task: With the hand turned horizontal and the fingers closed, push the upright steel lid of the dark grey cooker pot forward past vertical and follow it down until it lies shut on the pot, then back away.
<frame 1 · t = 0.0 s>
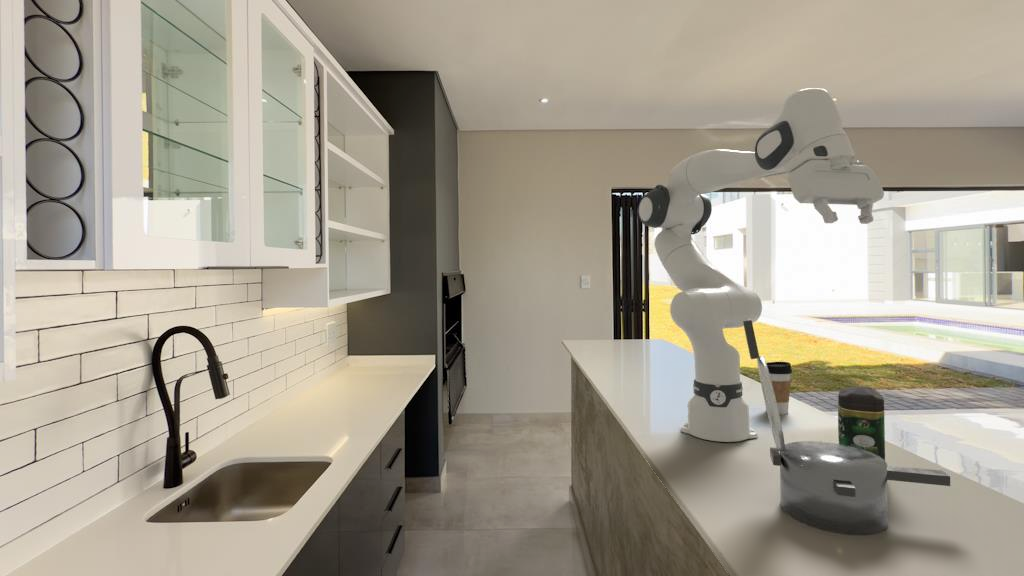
hand: (849, 222, 98), 52 cm above the countertop, tool tilted 20°, fingers open, 8 cm apart
coffee cup: (777, 412, 155), on the countertop
lid: (762, 384, 93), point 22 cm above the countertop, hinge at 100.0°
pot: (831, 511, 90), on the countertop
coffee jar: (861, 478, 104), on the countertop
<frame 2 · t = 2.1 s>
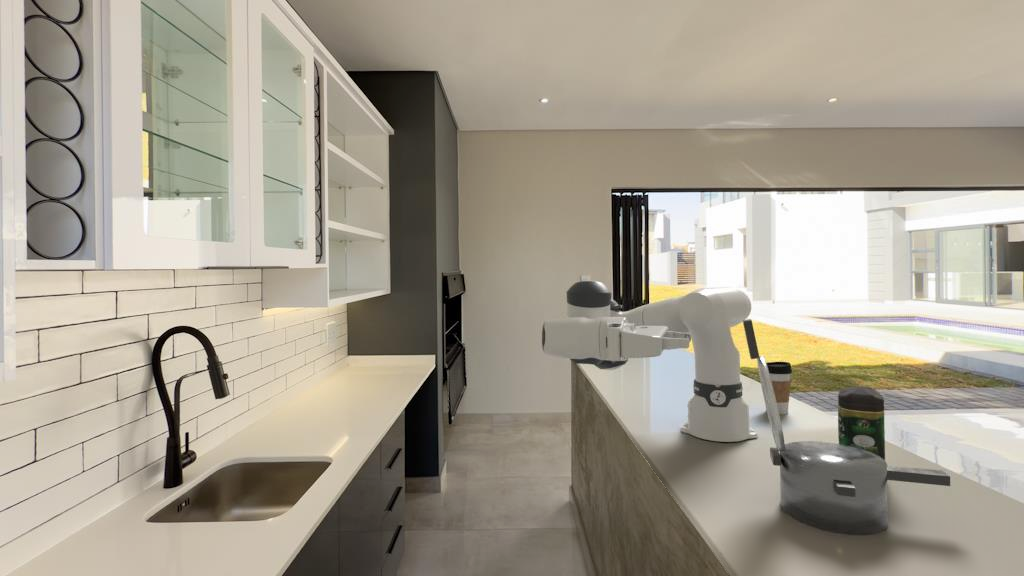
hand: (690, 340, 98), 30 cm above the countertop, tool horizontal, fingers open, 7 cm apart
nothing on the countertop moved.
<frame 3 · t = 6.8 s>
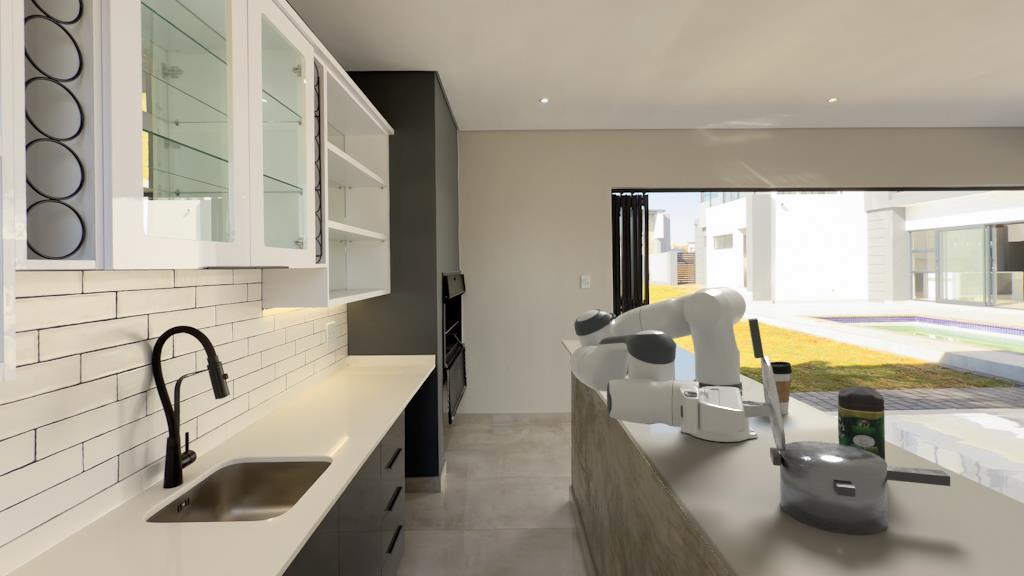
hand: (770, 409, 92), 18 cm above the countertop, tool horizontal, fingers closed, pressing on lid
lid: (765, 383, 93), point 22 cm above the countertop, hinge at 97.6°, touching gripper
everything else where it was.
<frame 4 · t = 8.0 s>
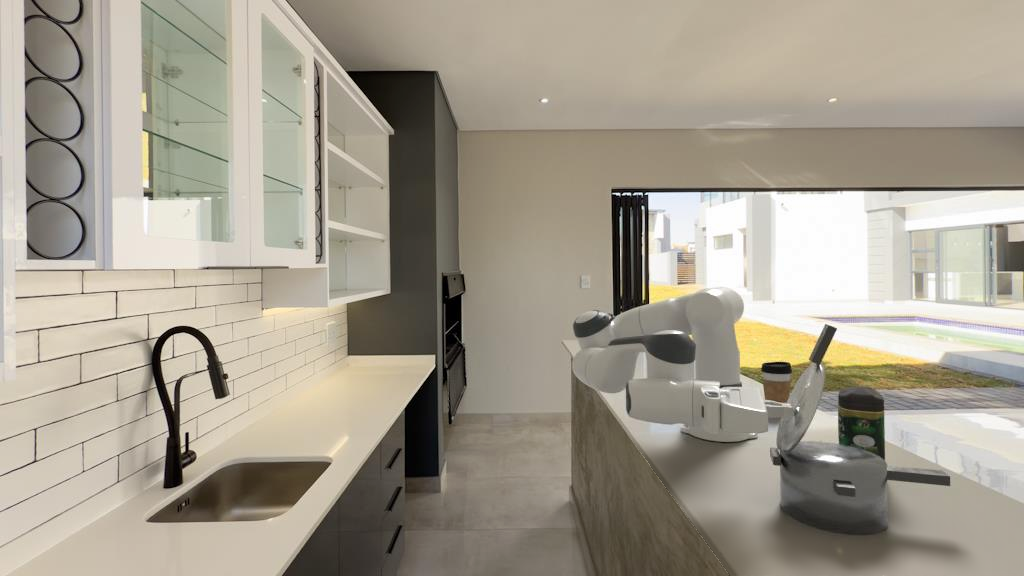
hand: (793, 410, 91), 18 cm above the countertop, tool horizontal, fingers closed, pressing on lid
lid: (804, 388, 91), point 22 cm above the countertop, hinge at 67.4°, touching gripper
everything else where it was.
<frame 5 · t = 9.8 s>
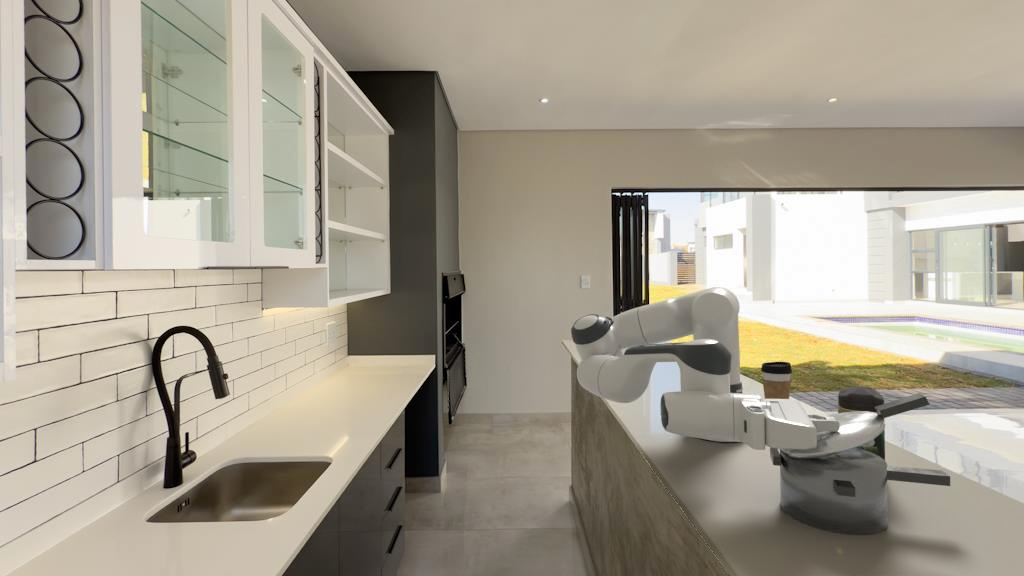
hand: (837, 424, 89), 16 cm above the countertop, tool horizontal, fingers closed
lid: (848, 424, 89), point 16 cm above the countertop, hinge at 23.6°, touching gripper
everything else where it was.
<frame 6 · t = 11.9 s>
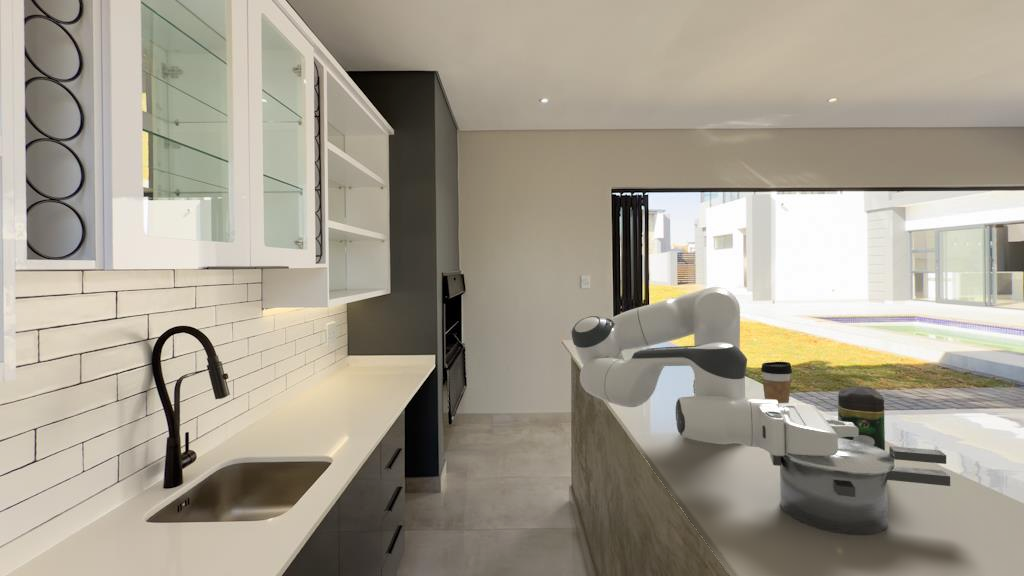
hand: (856, 429, 88), 15 cm above the countertop, tool horizontal, fingers closed
lid: (857, 452, 88), point 11 cm above the countertop, hinge at 0.0°, touching pot
everything else where it was.
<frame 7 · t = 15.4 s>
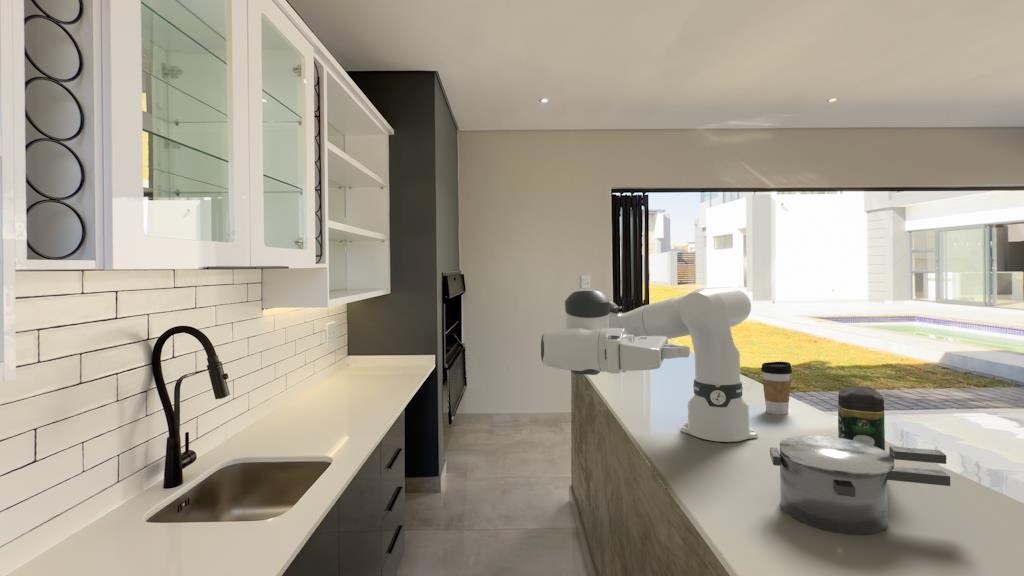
hand: (689, 351, 97), 28 cm above the countertop, tool horizontal, fingers closed
nothing on the countertop moved.
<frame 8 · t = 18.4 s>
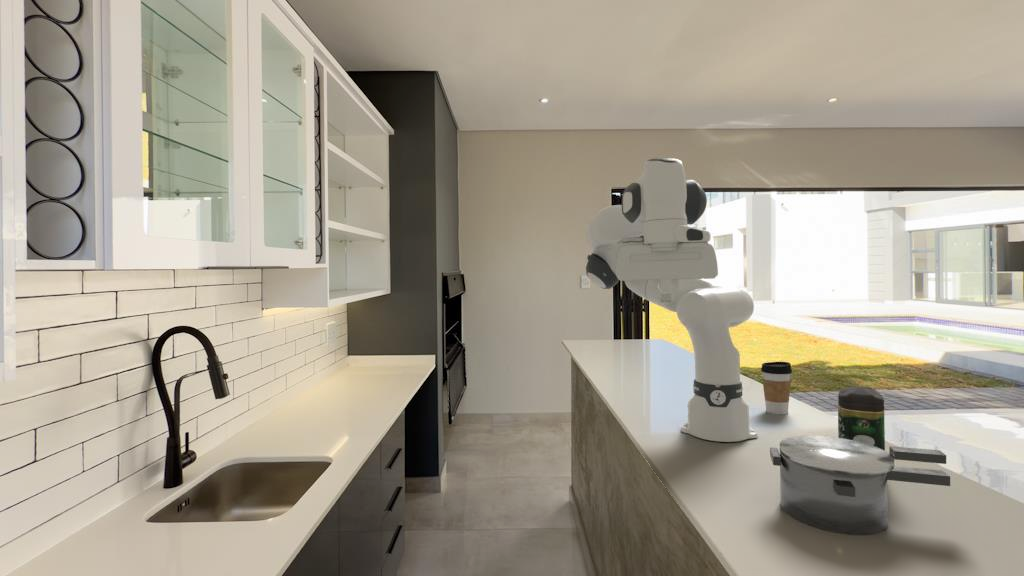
hand: (666, 301, 106), 37 cm above the countertop, tool pointing down, fingers closed
nothing on the countertop moved.
at the end: lid at +0° (first picture: +100°); lid touching pot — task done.
